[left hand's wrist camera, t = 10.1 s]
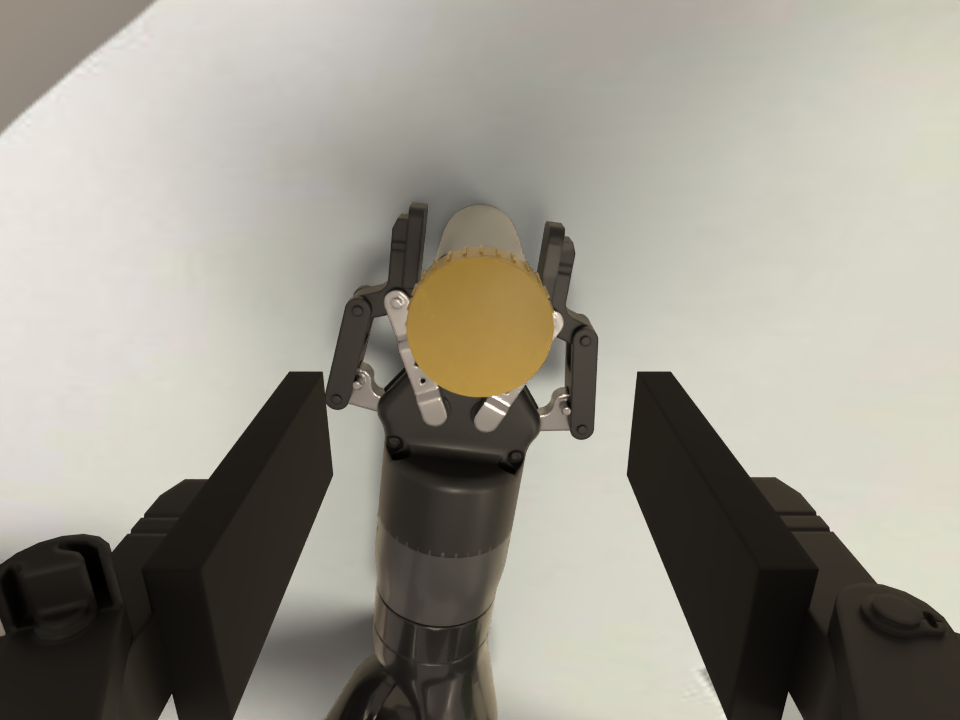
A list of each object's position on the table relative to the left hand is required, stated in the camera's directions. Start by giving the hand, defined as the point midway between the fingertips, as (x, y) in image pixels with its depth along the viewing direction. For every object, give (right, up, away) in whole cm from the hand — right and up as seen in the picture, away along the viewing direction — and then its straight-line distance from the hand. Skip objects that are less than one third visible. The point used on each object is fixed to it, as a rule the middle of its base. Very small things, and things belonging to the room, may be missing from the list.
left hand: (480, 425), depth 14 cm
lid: (0, +3, +7) cm, 7 cm away
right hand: (0, +8, +14) cm, 16 cm away
